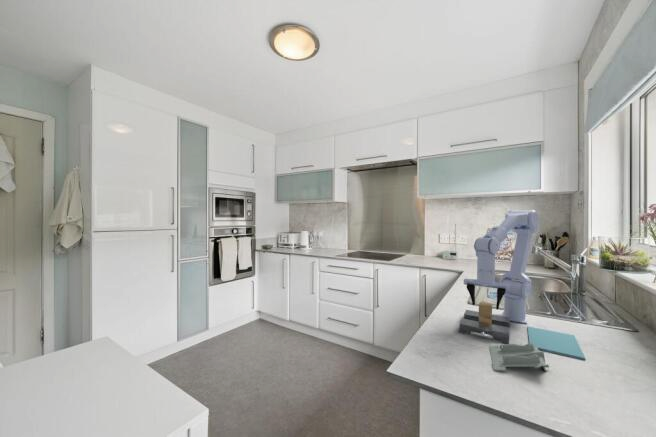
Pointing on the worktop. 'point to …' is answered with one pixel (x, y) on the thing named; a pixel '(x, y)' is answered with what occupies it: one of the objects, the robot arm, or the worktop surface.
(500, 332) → the vise
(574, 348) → the teal mat
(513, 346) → the metal bracket
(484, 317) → the oak peg
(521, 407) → the worktop surface
